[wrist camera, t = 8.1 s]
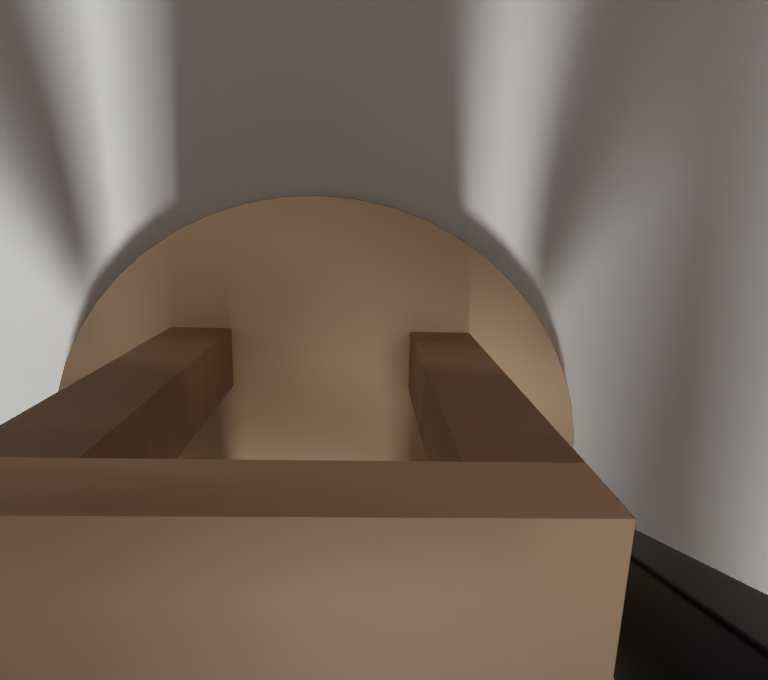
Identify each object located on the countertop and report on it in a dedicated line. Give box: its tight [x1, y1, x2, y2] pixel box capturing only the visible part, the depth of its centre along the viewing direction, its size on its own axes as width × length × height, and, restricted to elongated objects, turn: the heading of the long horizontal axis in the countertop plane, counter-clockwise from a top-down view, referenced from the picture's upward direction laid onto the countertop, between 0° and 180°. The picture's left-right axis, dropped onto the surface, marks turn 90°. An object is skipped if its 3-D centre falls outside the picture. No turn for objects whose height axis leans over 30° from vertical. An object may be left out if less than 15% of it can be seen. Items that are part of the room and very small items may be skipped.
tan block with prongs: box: [0, 327, 636, 680], centre depth 8 cm, size 6×6×7 cm
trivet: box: [58, 196, 574, 461], centre depth 12 cm, size 11×11×1 cm
